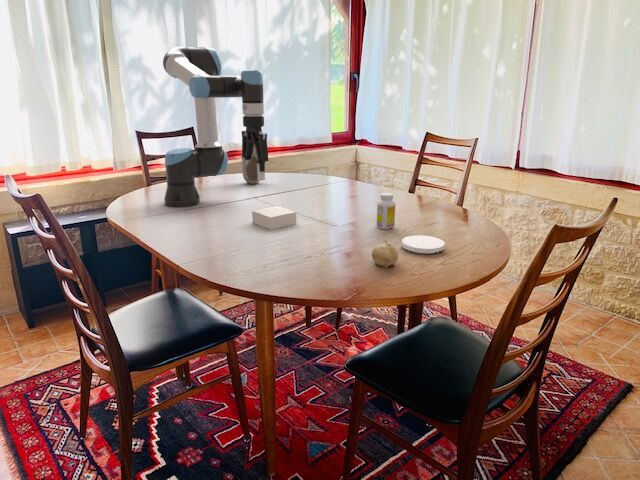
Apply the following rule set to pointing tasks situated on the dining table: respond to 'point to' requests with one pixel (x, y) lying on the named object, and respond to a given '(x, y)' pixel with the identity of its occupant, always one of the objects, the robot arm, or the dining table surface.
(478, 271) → the dining table surface
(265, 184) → the dining table surface
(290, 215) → the riser block
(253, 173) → the vase
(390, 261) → the onion
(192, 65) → the robot arm
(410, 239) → the plastic lid
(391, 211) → the supplement bottle
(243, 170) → the grey-green rounded cylinder
